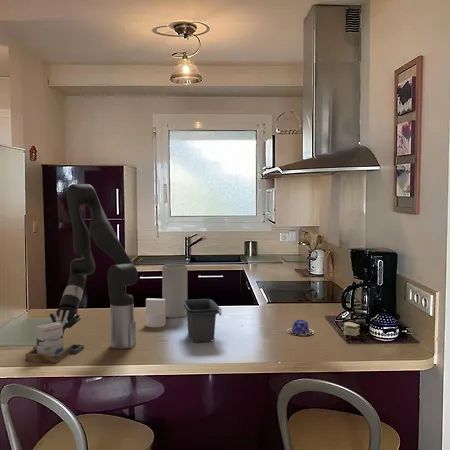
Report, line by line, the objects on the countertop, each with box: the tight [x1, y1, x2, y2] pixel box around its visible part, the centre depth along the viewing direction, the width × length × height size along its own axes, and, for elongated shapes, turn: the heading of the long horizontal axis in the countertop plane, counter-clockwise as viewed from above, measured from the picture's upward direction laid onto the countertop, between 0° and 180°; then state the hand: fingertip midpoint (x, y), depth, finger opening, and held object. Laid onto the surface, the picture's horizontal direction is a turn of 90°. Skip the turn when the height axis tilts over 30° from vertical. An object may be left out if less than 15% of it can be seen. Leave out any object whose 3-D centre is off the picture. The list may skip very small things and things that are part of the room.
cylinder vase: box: [161, 263, 188, 319], centre depth 242 cm, size 12×12×25 cm
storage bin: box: [183, 298, 222, 343], centre depth 207 cm, size 21×16×14 cm
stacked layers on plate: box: [343, 321, 361, 336], centre depth 209 cm, size 10×9×6 cm
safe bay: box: [24, 346, 71, 363], centre depth 181 cm, size 13×9×2 cm
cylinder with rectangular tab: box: [145, 297, 166, 328], centre depth 225 cm, size 9×9×12 cm
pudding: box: [286, 319, 315, 336], centre depth 215 cm, size 12×12×5 cm
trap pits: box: [32, 343, 85, 354], centre depth 189 cm, size 18×6×2 cm, turn 83°
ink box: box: [35, 321, 64, 355], centre depth 183 cm, size 8×5×12 cm, turn 139°
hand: (58, 336), depth 189 cm, fingers closed
